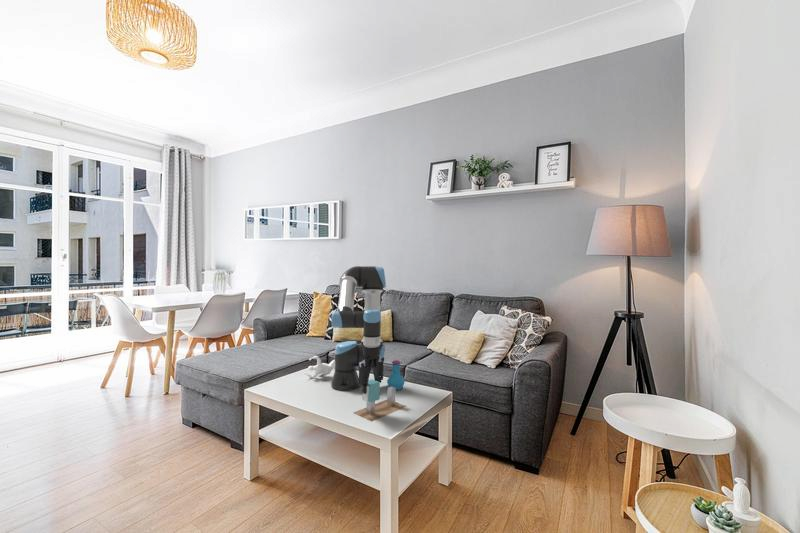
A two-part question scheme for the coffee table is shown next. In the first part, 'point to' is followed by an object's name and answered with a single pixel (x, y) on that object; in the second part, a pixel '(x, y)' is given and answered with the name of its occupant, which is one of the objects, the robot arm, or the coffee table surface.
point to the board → (379, 410)
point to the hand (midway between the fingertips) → (370, 398)
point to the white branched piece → (321, 368)
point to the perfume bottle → (396, 377)
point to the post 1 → (370, 408)
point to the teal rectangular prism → (373, 390)
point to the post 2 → (391, 396)
